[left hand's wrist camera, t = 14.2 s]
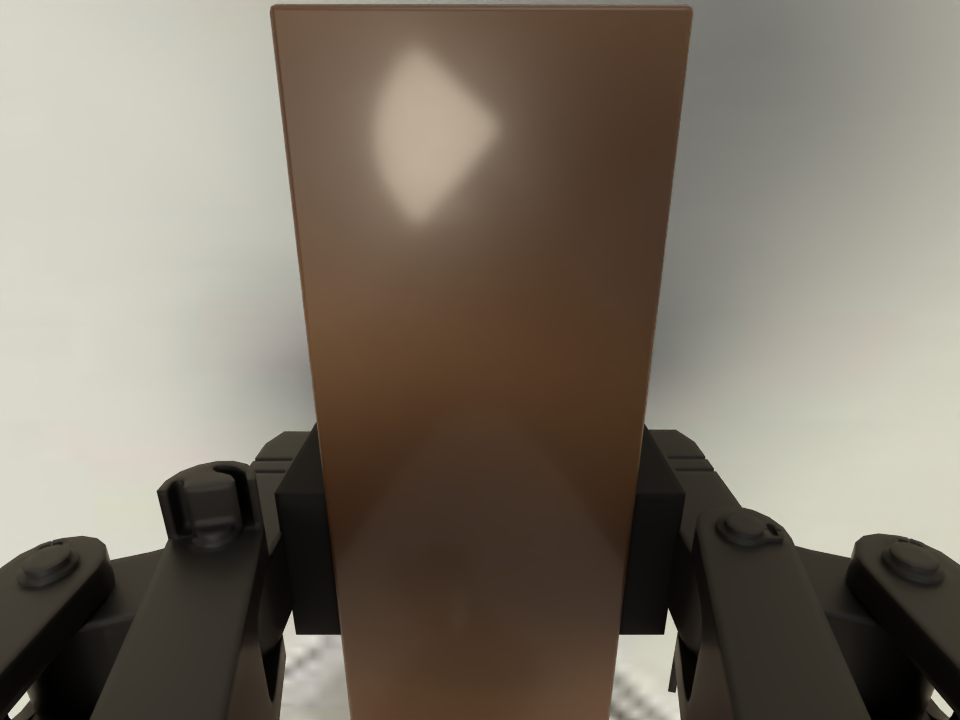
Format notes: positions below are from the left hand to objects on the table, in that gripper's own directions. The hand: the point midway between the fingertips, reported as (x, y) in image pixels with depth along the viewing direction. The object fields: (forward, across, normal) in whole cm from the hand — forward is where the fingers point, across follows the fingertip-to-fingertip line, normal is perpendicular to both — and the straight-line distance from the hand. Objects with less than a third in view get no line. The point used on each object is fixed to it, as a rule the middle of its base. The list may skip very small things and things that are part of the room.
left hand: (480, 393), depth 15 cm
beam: (+1, 0, -18) cm, 18 cm away
